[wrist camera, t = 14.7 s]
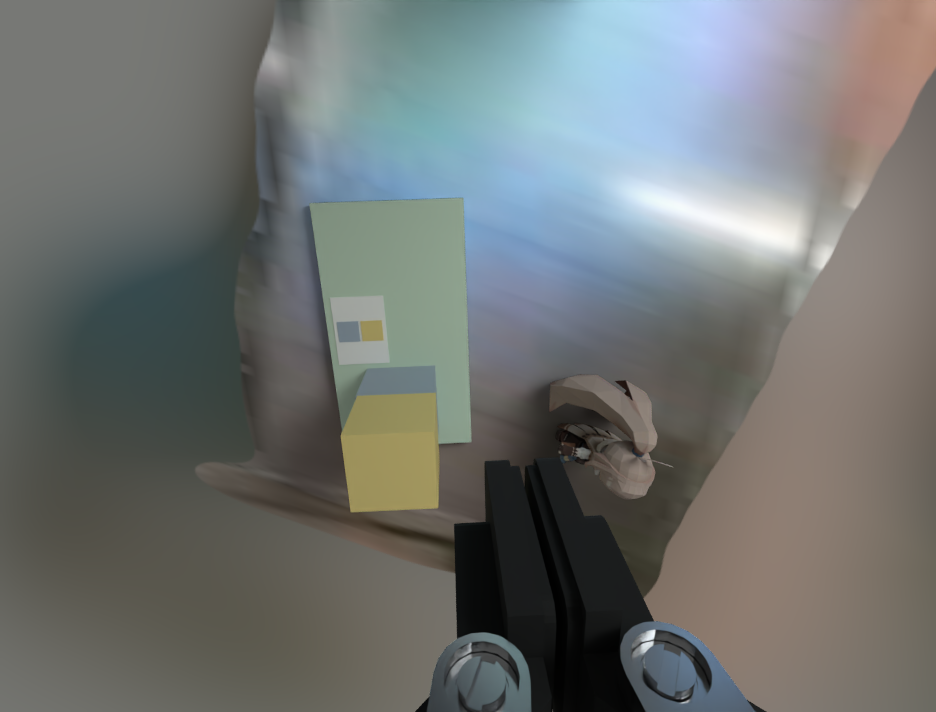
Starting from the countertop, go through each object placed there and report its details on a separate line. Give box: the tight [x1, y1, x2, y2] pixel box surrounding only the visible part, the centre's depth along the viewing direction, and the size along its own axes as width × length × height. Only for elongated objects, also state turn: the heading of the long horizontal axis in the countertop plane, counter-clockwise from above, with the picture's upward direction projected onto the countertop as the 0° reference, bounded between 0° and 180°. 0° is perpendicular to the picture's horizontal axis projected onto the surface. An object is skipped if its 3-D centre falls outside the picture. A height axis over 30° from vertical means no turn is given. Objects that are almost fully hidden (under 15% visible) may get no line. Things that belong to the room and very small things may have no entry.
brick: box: [341, 393, 439, 512], centre depth 34 cm, size 6×6×6 cm
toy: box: [549, 374, 672, 499], centre depth 38 cm, size 9×8×15 cm
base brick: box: [355, 365, 439, 433], centre depth 39 cm, size 6×6×6 cm
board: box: [309, 198, 471, 444], centre depth 41 cm, size 22×12×1 cm, turn 2°
